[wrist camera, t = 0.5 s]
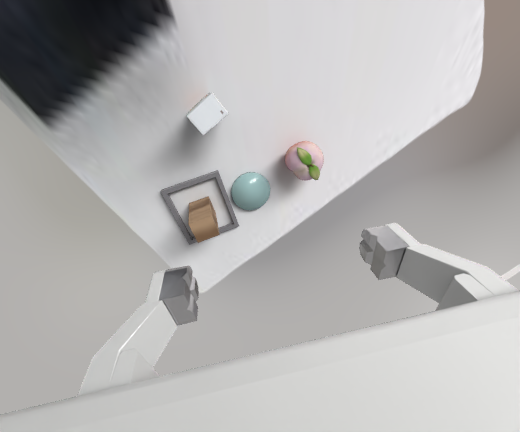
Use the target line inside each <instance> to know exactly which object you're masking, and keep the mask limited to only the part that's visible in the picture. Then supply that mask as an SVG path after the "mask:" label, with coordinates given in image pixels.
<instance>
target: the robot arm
mask: <svg viewBox="0 0 520 432" xmlns="http://www.w3.org/2000/svg"><path fill="white" fill-rule="evenodd" d="M361 236H362V238H363V240H362V241H361V243H360V247H359V249H360V254H361V256H362V258H363V260H364V261H365V262H366V263H368V264H370V265H371V270H372V272H373V273H374V274H375V276H376V277H377V278H378V280H381V279H386V278H391V277H397V278H398V279H400V280H402V281H403V282H405V283H407V284H408V285H410V286H411V287H413V288H415V289H416V290H418V291H420V292H421V293H423V294H425V295H426V296H428V297H430V298H431V299H433V300H435V301H436V302H438V303H439V305H438V307H437V309H436V310H435V311H433V312H429V313H424V314H420V315H416V316H412V317H407V318H403V319H399V320H395V321H391V322H387V323H382V324H378V325H374V326H370V327H366V328H362V329H358V330H353V331H349V332H345V333H341V334H336V335H332V336H328V337H324V338H320V339H315V340H311V341H307V342H303V343H299V344H295V345H290V346H286V347H282V348H278V349H274V350H269V351H265V352H261V353H257V354H253V355H249V356H244V357H240V358H236V359H232V360H228V361H223V362H219V363H215V364H211V365H207V366H202V367H199V368H194V369H190V370H186V371H182V372H178V373H173V374H169V375H165V376H159V375H158V374H157V373H156V371H155V370H154V369H153V367H154V365H155V363H156V362H157V360H158V358H159V357H160V355H161V353H162V352H163V350H164V348H165V347H166V345H167V343H168V342H169V340H170V339H171V337H172V335H173V334H174V332H175V330H176V329H177V326H178V325H182V324H186V323H189V322H193V321H197V312H198V306H197V304H196V301H197V299H198V293H199V292H198V285H197V281H196V279H195V277H193V276H192V269H191V267H190V266H184V267H179V268H173V269H168V270H164V271H158V272H155V273H154V274H153V276H152V279H151V283H150V286H149V290H148V294H147V297H146V301H145V304H142V305H140V307H139V308H138V309H137V310H136V311H135V312H134V313H133V314H132V315H131V316H130V317H129V318H128V319H127V321H126V322H125V323H124V324H123V325H122V326H121V327H120V328H119V329H118V330H117V331H116V332H115V334H114V335H113V336H112V337H111V338H110V339H109V340H108V341H107V342H106V343H105V344H104V346H102V348H101V349H100V350H99V351H98V352H97V353H96V354H95V355H94V356H93V358H92V361H91V363H90V365H89V368H88V370H87V373H86V375H85V378H84V381H83V383H82V385H81V388H80V391H79V393H78V396H77V397H72V398H68V399H64V400H59V401H55V402H51V403H47V404H43V405H39V406H34V407H30V408H26V409H22V410H18V411H13V412H9V413H5V414H1V415H0V432H520V291H519V290H517V289H516V288H515V287H513V286H512V285H511V284H509V283H508V282H507V281H506V280H504V279H503V278H502V277H500V276H499V275H498V274H496V273H495V272H494V271H493V270H491V269H490V268H488V267H486V266H484V265H481V264H478V263H475V262H472V261H470V260H467V259H464V258H462V257H459V256H456V255H453V254H450V253H448V252H445V251H442V250H439V249H437V248H434V247H431V246H429V245H426V244H420V243H418V241H416V240H415V239H414V238H413V237H412V236H411V235H410V234H408V233H407V232H406V231H405V230H404V229H403V228H402V227H400V226H399V225H398V224H397V223H391V224H387V225H382V226H377V227H373V228H368V229H364V230H363V231H362V235H361Z"/></svg>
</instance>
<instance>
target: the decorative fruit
mask: <svg viewBox="0 0 520 432" xmlns="http://www.w3.org/2000/svg"><path fill="white" fill-rule="evenodd" d="M323 162H324V157H323V153H322V151H321V150H320V149H319V147H318V146H317V145H316V144H314V143H312V142H309V141H303V142H299V143H297V144H295V145H293V146H291V147H290V148H289V149H288V151H287V153H286V156H285V163H286V165H287V167H288V169H290V170H291V171H293V172H294V174H295V175H296V176H297V178H299V179H301V180H310V179H312V178H313V179H314V180H318V178H319V175H320V170H321V168H322V166H323Z"/></svg>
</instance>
